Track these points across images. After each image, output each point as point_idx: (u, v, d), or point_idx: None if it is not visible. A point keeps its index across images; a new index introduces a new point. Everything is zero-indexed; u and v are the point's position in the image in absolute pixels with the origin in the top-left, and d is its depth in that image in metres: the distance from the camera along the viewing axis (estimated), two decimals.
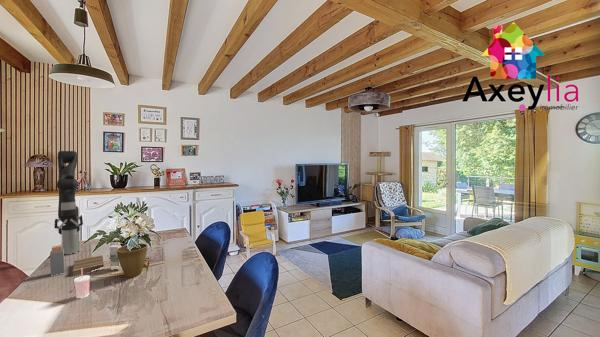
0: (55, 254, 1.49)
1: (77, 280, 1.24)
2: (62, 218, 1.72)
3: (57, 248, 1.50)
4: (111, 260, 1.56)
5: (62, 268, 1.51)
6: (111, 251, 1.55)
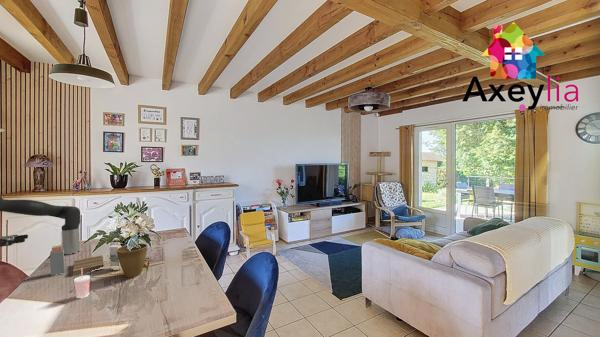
0: (55, 254, 1.49)
1: (77, 280, 1.24)
2: None
3: (57, 248, 1.50)
4: (111, 260, 1.56)
5: (62, 268, 1.51)
6: (111, 251, 1.55)
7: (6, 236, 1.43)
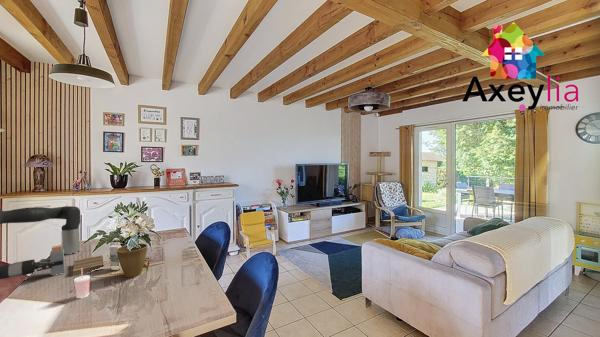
0: (55, 254, 1.49)
1: (77, 280, 1.24)
2: None
3: (57, 248, 1.50)
4: (111, 260, 1.56)
5: (62, 268, 1.51)
6: (111, 251, 1.55)
7: (44, 259, 1.52)
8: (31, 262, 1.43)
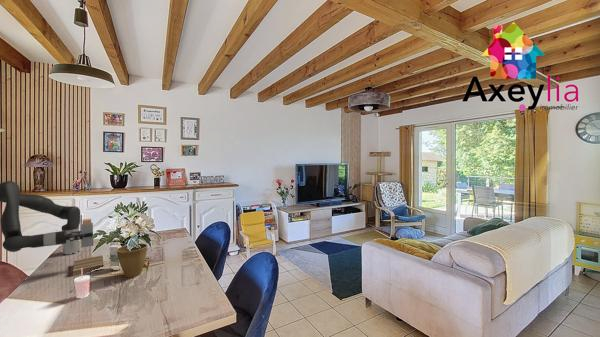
0: (85, 226, 1.57)
1: (77, 280, 1.24)
2: None
3: (87, 221, 1.58)
4: (111, 260, 1.56)
5: (91, 240, 1.59)
6: (111, 251, 1.55)
7: (75, 231, 1.60)
8: (64, 233, 1.52)
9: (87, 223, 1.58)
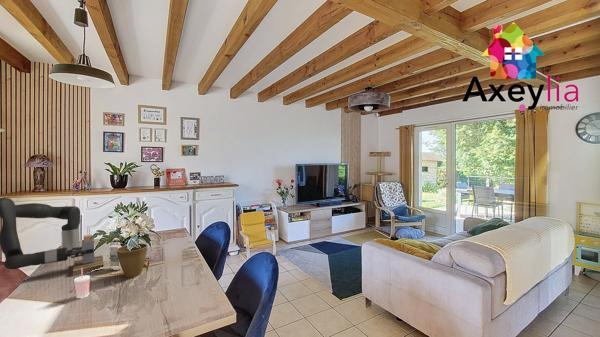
0: (86, 243, 1.58)
1: (77, 280, 1.24)
2: None
3: (88, 237, 1.59)
4: (111, 260, 1.56)
5: (92, 256, 1.60)
6: (111, 251, 1.55)
7: (76, 247, 1.61)
8: (65, 250, 1.52)
9: (88, 239, 1.59)
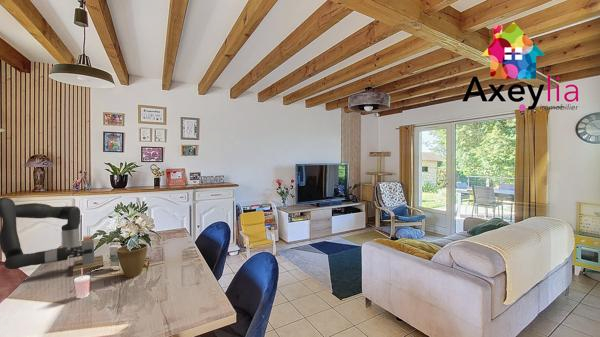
0: (86, 244, 1.58)
1: (77, 280, 1.24)
2: None
3: (88, 238, 1.59)
4: (111, 260, 1.56)
5: (92, 257, 1.60)
6: (111, 251, 1.55)
7: (74, 247, 1.61)
8: (65, 249, 1.52)
9: (88, 240, 1.59)
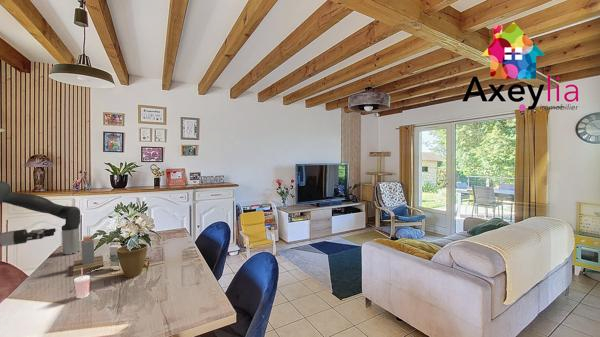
0: (86, 244, 1.58)
1: (77, 280, 1.24)
2: None
3: (88, 238, 1.59)
4: (111, 260, 1.56)
5: (92, 257, 1.60)
6: (111, 251, 1.55)
7: (35, 230, 1.51)
8: (23, 231, 1.42)
9: (88, 240, 1.59)
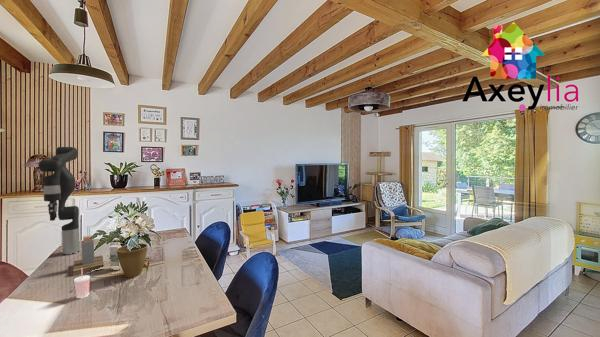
0: (86, 244, 1.58)
1: (77, 280, 1.24)
2: None
3: (88, 238, 1.59)
4: (111, 260, 1.56)
5: (92, 257, 1.60)
6: (111, 251, 1.55)
7: None
8: (58, 199, 1.59)
9: (88, 240, 1.59)
